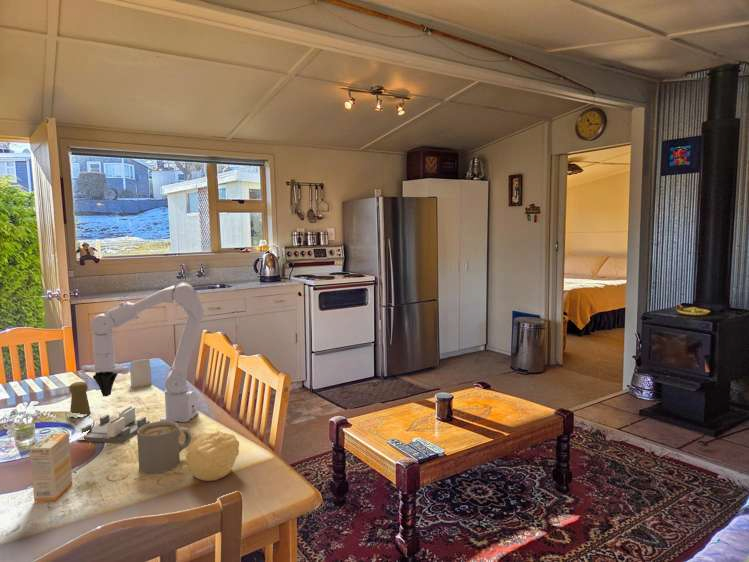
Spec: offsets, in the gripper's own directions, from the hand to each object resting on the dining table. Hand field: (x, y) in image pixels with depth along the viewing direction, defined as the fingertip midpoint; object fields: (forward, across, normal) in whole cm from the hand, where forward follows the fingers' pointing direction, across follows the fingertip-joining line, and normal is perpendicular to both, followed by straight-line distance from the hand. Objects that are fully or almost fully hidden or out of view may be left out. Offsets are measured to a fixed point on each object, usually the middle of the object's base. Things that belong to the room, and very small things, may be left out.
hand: (106, 395), depth 157 cm
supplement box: (+10, +13, -38) cm, 42 cm away
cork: (+10, -15, +7) cm, 20 cm away
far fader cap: (+8, +7, 0) cm, 11 cm away
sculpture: (+10, +46, -25) cm, 53 cm away
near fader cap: (+8, +8, -8) cm, 14 cm away
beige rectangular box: (+10, -14, +39) cm, 43 cm away
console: (+10, +5, -4) cm, 12 cm away
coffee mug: (+10, +31, -21) cm, 39 cm away
